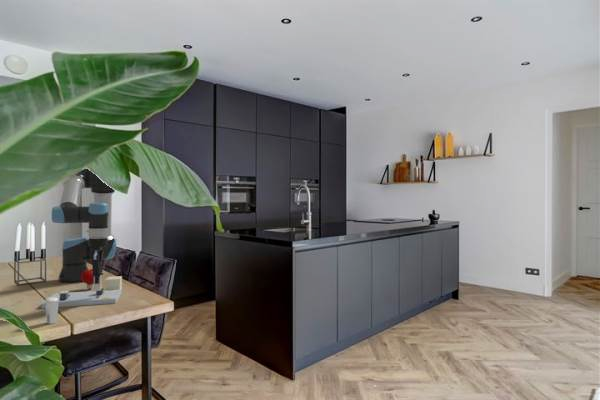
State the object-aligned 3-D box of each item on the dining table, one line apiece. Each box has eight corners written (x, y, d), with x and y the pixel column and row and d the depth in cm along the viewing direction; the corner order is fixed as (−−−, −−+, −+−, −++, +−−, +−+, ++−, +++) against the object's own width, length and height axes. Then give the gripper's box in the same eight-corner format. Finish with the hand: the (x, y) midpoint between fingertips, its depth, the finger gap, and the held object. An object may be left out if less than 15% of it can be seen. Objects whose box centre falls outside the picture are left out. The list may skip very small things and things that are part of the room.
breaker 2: (97, 293, 167) (97, 286, 167) (103, 292, 167) (103, 286, 167) (96, 294, 164) (96, 287, 164) (102, 294, 165) (102, 287, 165)
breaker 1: (61, 298, 157) (61, 291, 157) (68, 297, 158) (68, 290, 158) (59, 299, 155) (59, 292, 155) (66, 299, 155) (66, 292, 155)
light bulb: (88, 292, 176) (88, 271, 176) (76, 291, 178) (76, 271, 178) (102, 287, 186) (102, 268, 186) (90, 286, 187) (91, 267, 187)
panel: (53, 297, 165) (54, 293, 165) (121, 293, 175) (121, 289, 175) (40, 308, 149) (40, 303, 149) (115, 303, 159) (115, 298, 159)
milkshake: (55, 324, 130) (55, 297, 130) (41, 324, 131) (41, 296, 131) (64, 320, 135) (64, 294, 135) (50, 320, 135) (50, 293, 135)
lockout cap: (107, 290, 180) (108, 276, 180) (121, 289, 182) (121, 276, 182) (105, 293, 174) (105, 279, 174) (119, 292, 176) (119, 278, 176)
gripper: (91, 236, 165) (91, 287, 165) (84, 239, 152) (84, 294, 153) (110, 235, 167) (109, 286, 168) (104, 239, 155) (104, 293, 155)
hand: (97, 290), depth 160 cm, fingers closed
